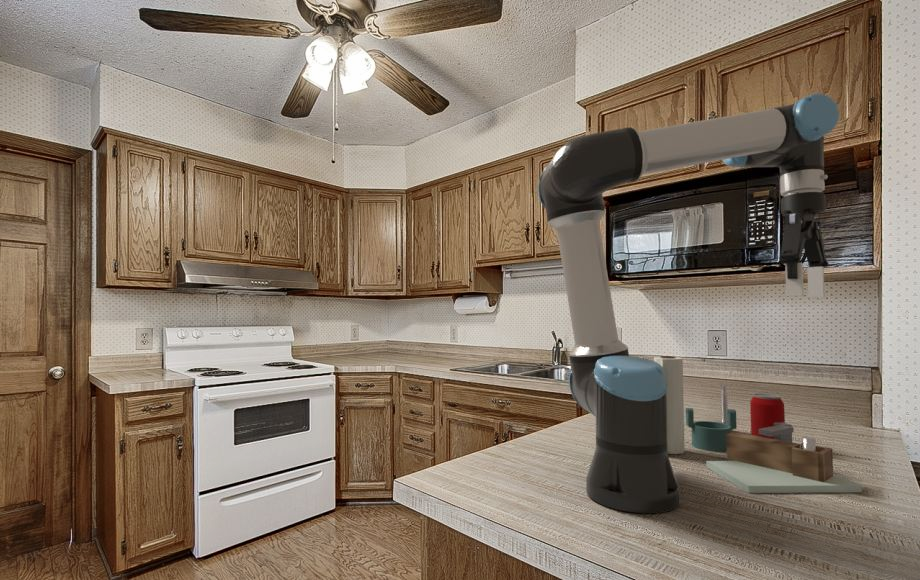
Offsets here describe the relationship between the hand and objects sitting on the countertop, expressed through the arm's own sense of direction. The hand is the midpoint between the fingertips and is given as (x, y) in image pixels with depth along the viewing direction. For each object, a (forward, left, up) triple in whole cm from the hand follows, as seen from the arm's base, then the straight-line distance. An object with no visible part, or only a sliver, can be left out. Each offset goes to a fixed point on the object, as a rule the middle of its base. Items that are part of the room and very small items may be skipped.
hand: (806, 296), depth 99 cm
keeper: (-8, -1, -35) cm, 36 cm away
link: (-9, -3, -34) cm, 35 cm away
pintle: (-6, -8, -34) cm, 35 cm away
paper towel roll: (-24, +12, -35) cm, 44 cm away
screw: (-1, +29, -35) cm, 45 cm away
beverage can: (+1, +15, -35) cm, 38 cm away
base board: (-11, -6, -35) cm, 37 cm away
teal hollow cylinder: (-12, +16, -35) cm, 40 cm away
